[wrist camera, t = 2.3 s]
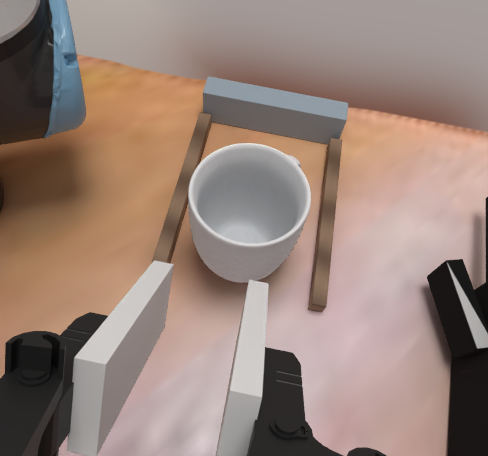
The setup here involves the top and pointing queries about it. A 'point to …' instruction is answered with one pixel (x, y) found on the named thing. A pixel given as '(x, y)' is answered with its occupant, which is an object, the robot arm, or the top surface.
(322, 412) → the top surface
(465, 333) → the black power adapter
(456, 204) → the top surface
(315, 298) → the channel
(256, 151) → the mug
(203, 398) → the top surface
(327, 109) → the stop
